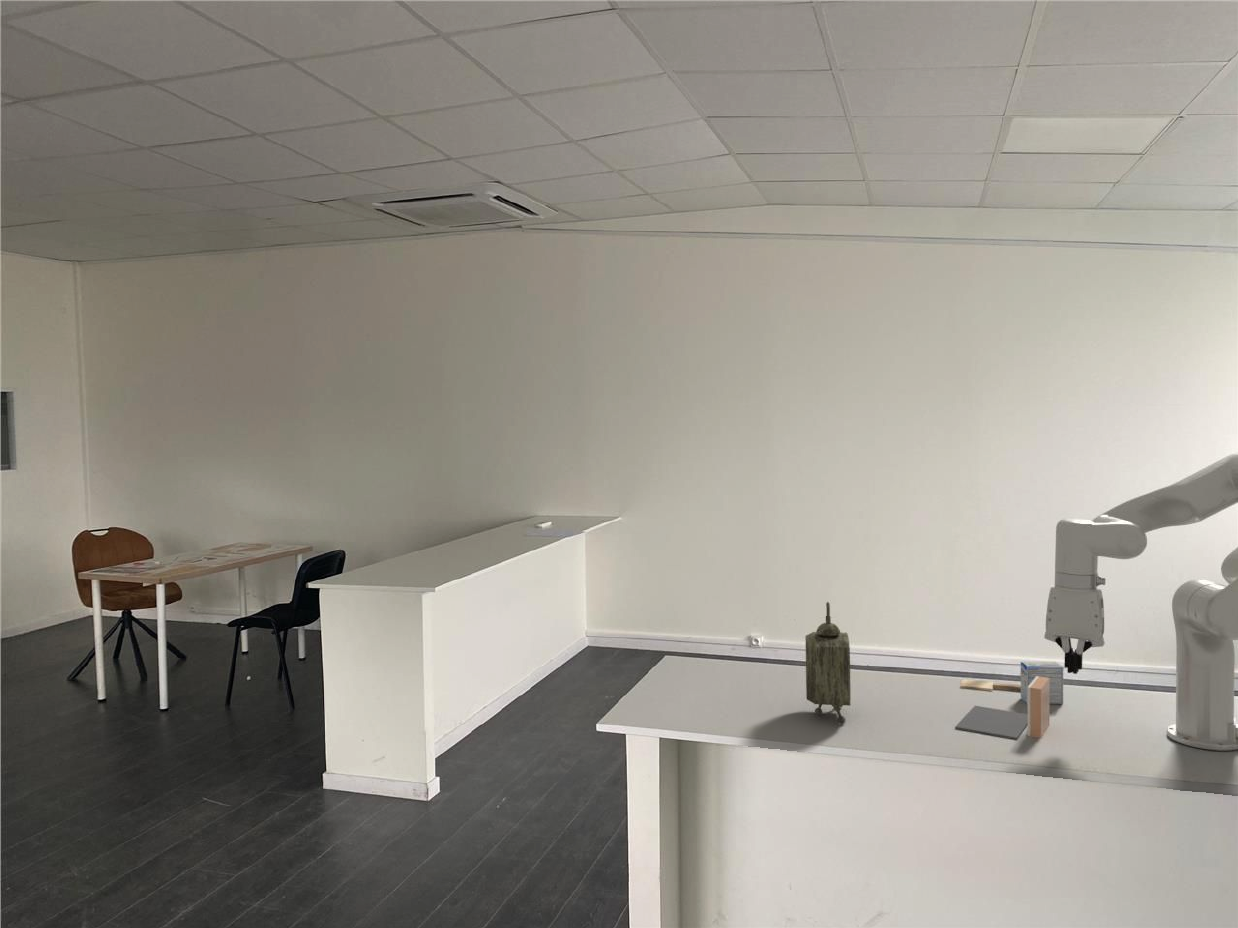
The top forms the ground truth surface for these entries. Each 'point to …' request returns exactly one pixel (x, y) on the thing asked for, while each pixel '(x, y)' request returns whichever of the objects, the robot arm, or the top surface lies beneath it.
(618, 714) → the top surface
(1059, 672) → the medicine box
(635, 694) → the top surface
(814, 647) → the tabletop clock
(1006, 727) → the mat
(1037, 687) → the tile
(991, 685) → the beech turner
